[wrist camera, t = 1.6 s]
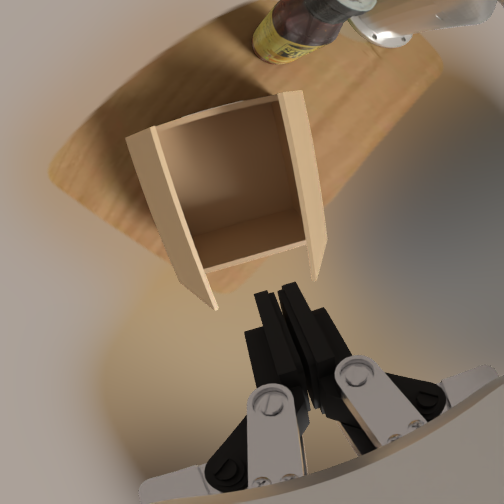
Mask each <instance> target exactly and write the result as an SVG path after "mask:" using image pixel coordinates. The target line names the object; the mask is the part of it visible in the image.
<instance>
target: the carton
mask: <svg viewBox="0 0 504 504" xmlns="http://www.w3.org/2000/svg"><path fill="white" fill-rule="evenodd" d="M155 127H156V131H157V134H158V137H159V141H160V144H161V147H162V150H163V154H164V157H165V160H166V163H167V166H168V169H169V172H170V176H171V179H172V182H173V185H174V188H175V191H176V194H177V197H178V200H179V203H180V205H181V208H182V211H183V214H184V217H185V220H186V223H187V226H188V228H189V231H190V234H191V237H192V240H193V242H194V245H195V248H196V250H197V253H198V256H199V259H200V261H201V264H202V267H203V269H204V272H205V274H206V273H210V272H213V271H217V270H220V269H224V268H227V267H231V266H234V265H238V264H241V263H245V262H248V261H252V260H255V259H259V258H262V257H266V256H269V255H273V254H276V253H279V252H283V251H286V250H290V249H293V248H297V247H300V246H304V245H307V244H306V238H305V232H304V225H303V219H302V214H301V208H300V202H299V196H298V191H297V185H296V180H295V175H294V170H293V165H292V159H291V154H290V150H289V145H288V140H287V135H286V131H285V126H284V121H283V117H282V112H281V108H280V104H279V99H278V95H277V94H276V95H271V96H265V97H260V98H255V99H251V100H246V101H238V102H234V103H230V104H226V105H222V106H218V107H214V108H211V109H207V110H203V111H200V112H196V113H193V114H190V115H186V116H183V117H182V118H179V119H176V120H173V121H170V122H167V123H164V124H161V125H158V126H155Z"/></svg>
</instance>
